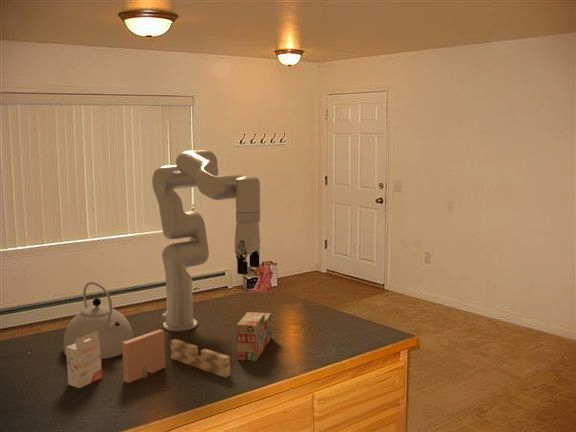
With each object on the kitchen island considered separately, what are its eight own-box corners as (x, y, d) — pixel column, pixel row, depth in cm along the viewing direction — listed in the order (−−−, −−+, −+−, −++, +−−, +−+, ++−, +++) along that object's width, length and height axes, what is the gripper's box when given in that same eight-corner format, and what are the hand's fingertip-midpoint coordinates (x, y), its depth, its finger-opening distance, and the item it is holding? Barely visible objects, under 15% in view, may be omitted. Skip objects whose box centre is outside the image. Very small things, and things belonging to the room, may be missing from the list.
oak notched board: (171, 358, 192) (170, 340, 191) (175, 356, 194) (175, 338, 193) (225, 377, 177) (225, 358, 177) (230, 375, 179) (229, 356, 178)
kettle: (150, 348, 201) (148, 283, 198) (88, 368, 185) (84, 298, 181) (111, 330, 218) (108, 271, 215) (51, 347, 202) (47, 283, 198)
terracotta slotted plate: (123, 381, 175) (122, 342, 173) (160, 366, 186) (159, 329, 184) (128, 383, 174) (126, 343, 172) (165, 367, 185) (163, 330, 183)
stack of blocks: (254, 337, 211) (254, 303, 210) (271, 338, 210) (271, 304, 208) (237, 360, 191) (236, 323, 189) (255, 362, 189) (255, 324, 188)
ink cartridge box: (91, 374, 180) (88, 327, 178) (102, 378, 177) (100, 330, 175) (67, 384, 173) (64, 336, 171) (78, 388, 170) (75, 339, 168)
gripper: (247, 212, 194) (248, 263, 197) (225, 220, 178) (226, 276, 181) (269, 213, 192) (269, 265, 195) (248, 221, 176) (249, 278, 178)
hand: (248, 270), depth 188 cm, fingers open, 9 cm apart
